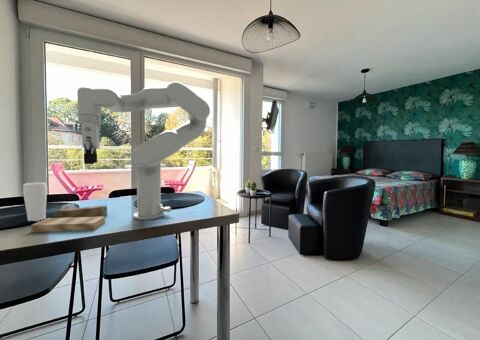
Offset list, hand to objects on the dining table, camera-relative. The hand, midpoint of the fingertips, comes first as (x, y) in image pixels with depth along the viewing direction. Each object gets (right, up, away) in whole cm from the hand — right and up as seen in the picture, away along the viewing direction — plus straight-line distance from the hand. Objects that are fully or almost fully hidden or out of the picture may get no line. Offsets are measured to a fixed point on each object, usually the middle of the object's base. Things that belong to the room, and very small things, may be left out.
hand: (91, 163), depth 86 cm
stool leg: (-6, -23, +3) cm, 24 cm away
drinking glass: (-22, -23, 0) cm, 32 cm away
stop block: (-17, -22, +9) cm, 30 cm away
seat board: (-2, -24, -7) cm, 25 cm away
